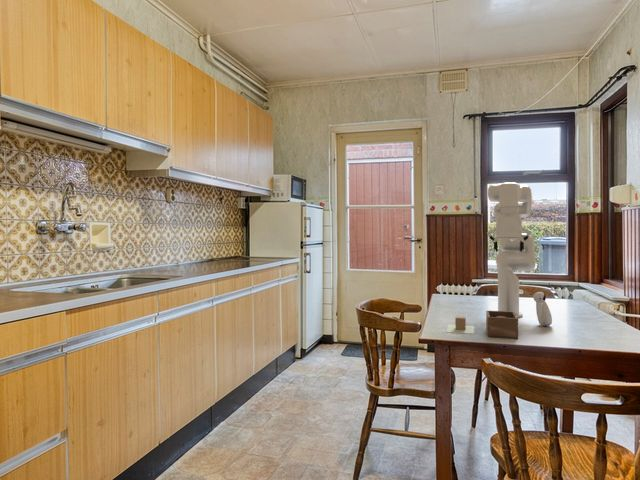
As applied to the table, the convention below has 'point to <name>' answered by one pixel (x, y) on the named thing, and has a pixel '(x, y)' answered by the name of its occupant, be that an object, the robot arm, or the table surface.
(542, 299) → the toy
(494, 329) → the box
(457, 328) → the lid
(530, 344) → the table surface
